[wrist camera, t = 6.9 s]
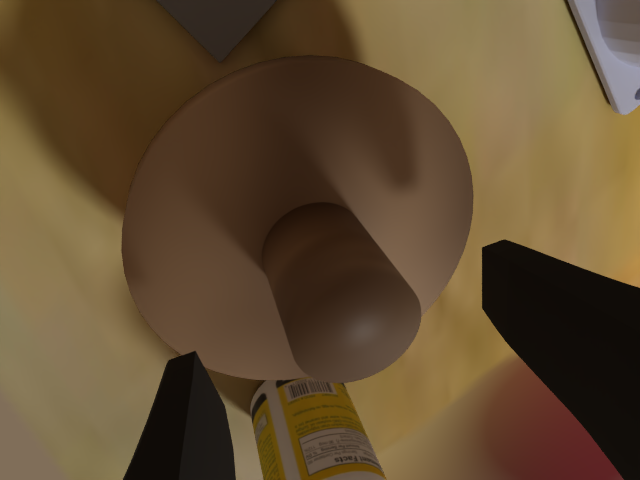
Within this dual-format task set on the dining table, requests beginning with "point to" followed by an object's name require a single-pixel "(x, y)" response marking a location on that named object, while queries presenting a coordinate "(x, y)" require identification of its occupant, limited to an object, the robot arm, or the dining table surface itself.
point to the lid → (297, 220)
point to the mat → (217, 21)
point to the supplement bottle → (311, 432)
